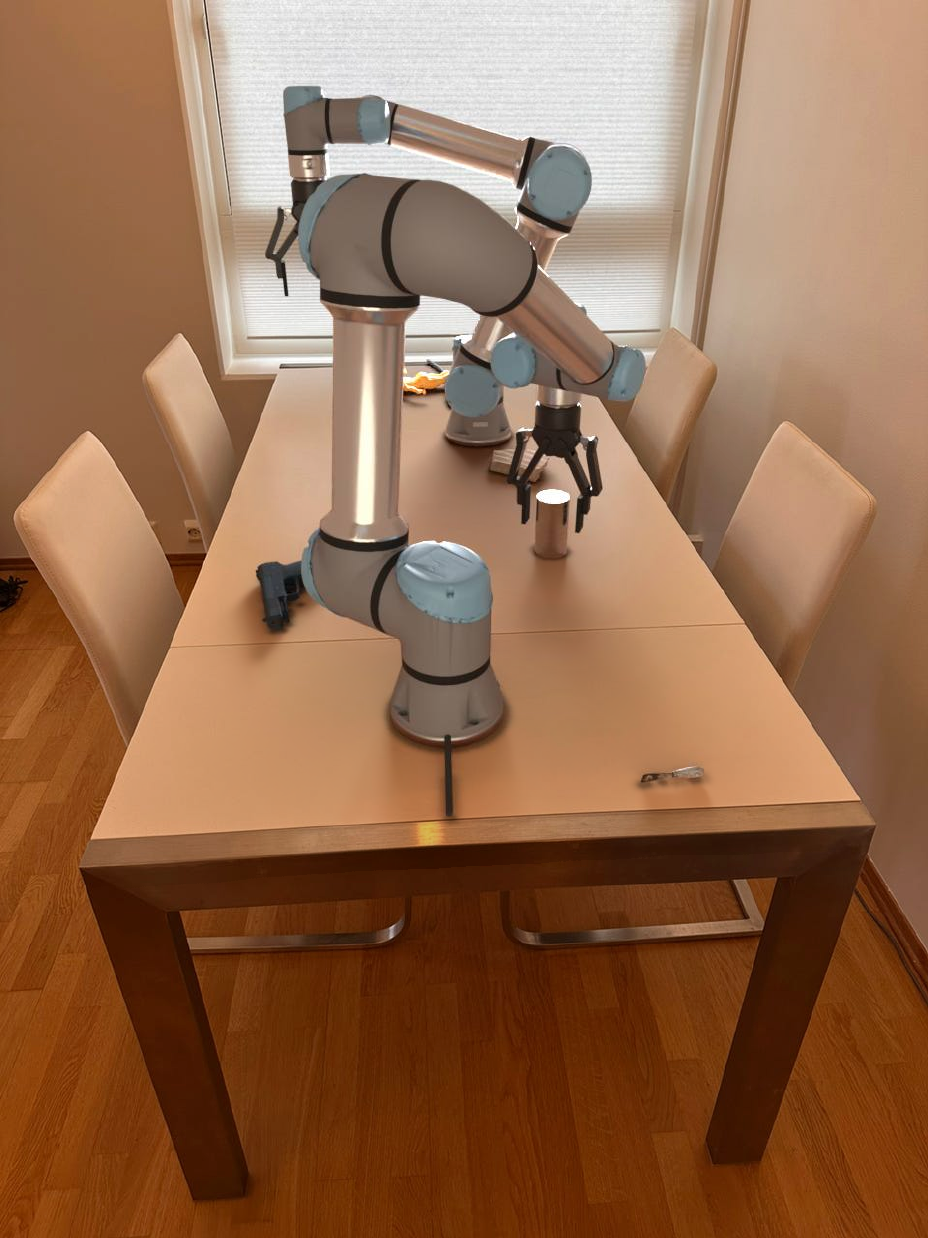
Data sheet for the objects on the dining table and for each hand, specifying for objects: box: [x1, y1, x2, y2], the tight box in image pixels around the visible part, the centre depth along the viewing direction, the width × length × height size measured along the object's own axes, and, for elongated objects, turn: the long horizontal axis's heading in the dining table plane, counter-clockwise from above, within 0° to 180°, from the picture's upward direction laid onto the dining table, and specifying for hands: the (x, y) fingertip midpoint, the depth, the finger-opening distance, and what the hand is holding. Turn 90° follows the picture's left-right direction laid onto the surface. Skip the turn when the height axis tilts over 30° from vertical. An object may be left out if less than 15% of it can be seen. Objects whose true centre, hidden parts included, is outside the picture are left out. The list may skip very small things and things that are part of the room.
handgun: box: [255, 560, 305, 631], centre depth 146 cm, size 3×17×12 cm
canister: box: [534, 489, 571, 559], centre depth 158 cm, size 6×6×11 cm
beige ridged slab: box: [489, 448, 550, 483], centre depth 192 cm, size 13×12×2 cm
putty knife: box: [640, 765, 705, 784], centre depth 109 cm, size 1×8×2 cm, turn 103°
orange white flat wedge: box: [403, 365, 450, 395], centre depth 240 cm, size 20×20×4 cm
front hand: (552, 525), depth 158 cm, fingers open, 9 cm apart
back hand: (320, 293), depth 183 cm, fingers open, 13 cm apart
